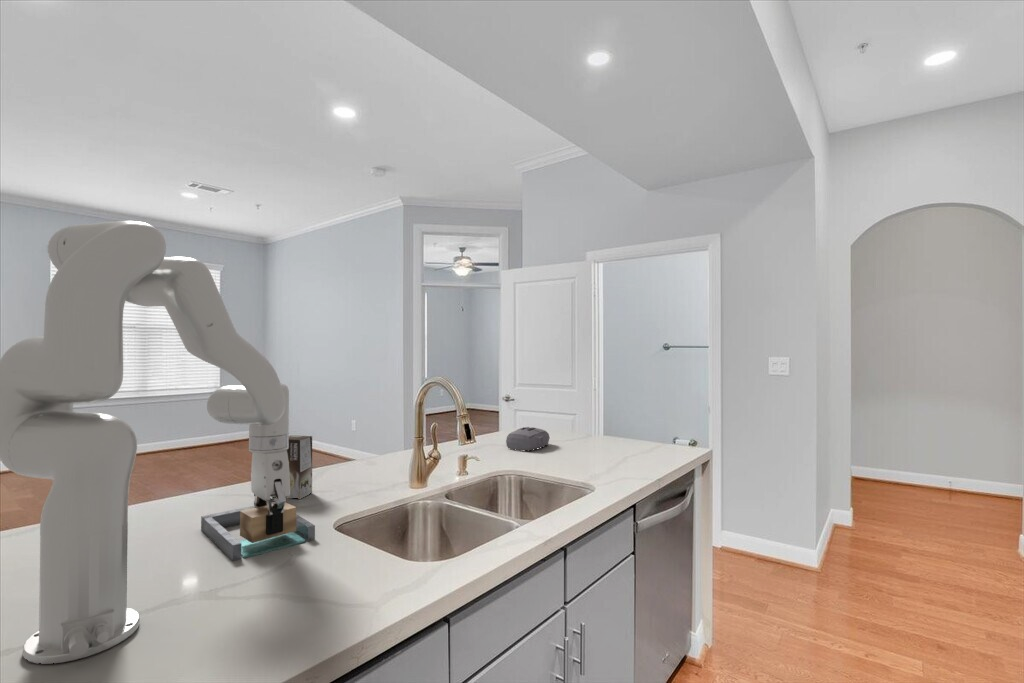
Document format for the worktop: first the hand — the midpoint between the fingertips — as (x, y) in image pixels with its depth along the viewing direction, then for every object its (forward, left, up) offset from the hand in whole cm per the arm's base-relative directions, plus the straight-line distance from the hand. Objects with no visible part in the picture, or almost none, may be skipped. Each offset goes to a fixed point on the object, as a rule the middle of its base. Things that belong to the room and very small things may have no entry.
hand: (268, 528), depth 107 cm
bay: (+6, 0, -3) cm, 7 cm away
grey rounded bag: (+34, -114, -4) cm, 120 cm away
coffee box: (+31, -17, -3) cm, 36 cm away
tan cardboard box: (0, 0, -1) cm, 1 cm away
